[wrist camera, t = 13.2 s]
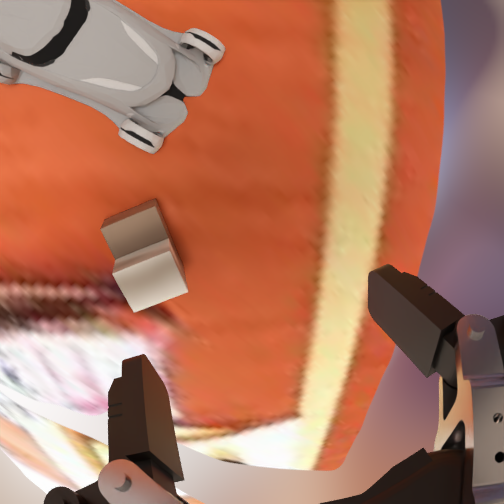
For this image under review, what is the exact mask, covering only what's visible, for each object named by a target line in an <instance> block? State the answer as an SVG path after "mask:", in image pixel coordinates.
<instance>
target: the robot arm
mask: <svg viewBox="0 0 504 504" xmlns="http://www.w3.org/2000/svg"><path fill="white" fill-rule="evenodd" d="M368 309H369V312H370V314H371V316H372V318H373V319H374V321H375V322H376V323H377V324H378V325H379V326H380V327H381V328H382V329H383V330H384V331H385V333H386V334H387V335H388V336H389V337H390V338H391V339H392V340H393V341H394V342H395V343H396V344H397V346H398V347H399V348H400V349H401V350H402V351H403V352H404V353H405V354H406V355H407V357H408V358H409V359H410V360H411V361H412V362H413V363H414V364H415V365H416V366H417V368H418V369H419V370H420V371H421V372H422V373H423V374H424V375H425V377H426V378H427V377H429V376H430V375H432V374H433V373H435V372H436V371H437V372H438V373H439V374H440V378H439V427H438V432H437V435H436V439H435V444H434V451H433V452H430V453H427V452H426V451H425V449H424V448H422V449H421V450H419V451H418V452H416V453H415V454H413V455H411V456H410V457H408V458H407V459H405V460H403V461H402V462H400V463H399V464H397V465H395V466H394V467H392V468H391V469H390V470H389V471H388V472H387V473H386V474H385V475H384V476H383V477H382V478H380V479H379V480H378V481H377V482H376V483H375V484H374V485H373V486H371V487H370V488H369V489H368V490H367V491H365V492H364V493H362V494H360V495H356V496H352V497H348V498H344V499H339V500H335V501H330V502H325V503H320V504H504V315H503V316H500V317H497V318H494V319H491V320H488V319H487V318H485V317H483V316H481V315H476V314H470V315H466V316H465V315H463V314H462V313H461V312H460V311H459V310H458V309H456V308H455V307H454V306H453V305H451V304H450V303H449V302H448V301H447V300H446V299H444V298H443V297H442V296H441V295H439V294H438V293H435V291H434V290H433V289H432V288H431V287H429V286H427V284H426V283H424V282H423V281H422V280H421V279H419V278H418V277H416V276H414V275H411V274H408V273H406V272H403V273H401V272H399V271H398V270H397V269H395V268H394V267H393V266H392V265H390V264H387V265H384V266H382V267H380V268H378V269H375V270H373V271H371V272H370V273H369V275H368ZM108 406H109V408H108V417H109V419H108V445H109V463H108V464H107V465H106V466H105V467H104V468H103V469H102V470H101V472H100V474H99V478H98V481H96V482H95V483H93V484H91V485H89V486H86V487H84V488H82V489H80V490H78V491H76V492H74V491H72V490H70V489H69V488H66V487H56V488H54V489H52V490H51V491H50V492H49V493H48V494H47V495H46V498H45V500H44V504H189V503H188V502H187V501H185V500H184V499H183V498H181V497H180V496H179V495H177V493H176V489H175V484H174V482H178V481H183V480H184V477H183V471H182V467H181V462H180V457H179V452H178V447H177V442H176V436H175V431H174V425H173V420H172V414H171V407H170V401H169V396H168V392H167V390H166V387H165V385H164V383H163V381H162V380H161V378H160V377H159V375H158V374H157V372H156V371H155V369H154V367H153V366H152V364H151V363H150V361H149V360H148V358H147V357H146V355H144V354H142V355H139V356H135V357H132V358H129V359H125V360H123V361H122V377H119V378H116V379H114V380H113V383H112V385H111V387H110V390H109V392H108Z"/></svg>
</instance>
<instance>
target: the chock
mask: <svg viewBox="0 0 504 504" xmlns="http://www.w3.org/2000/svg"><path fill="white" fill-rule="evenodd" d="M101 231H102V233H103V236H104V238H105V240H106V242H107V244H108V246H109V248H110V250H111V252H112V254H113V256H114V258H115V264H114V268H113V273H112V274H113V276H114V278H115V280H116V282H117V283H118V285H119V287H120V289H121V291H122V292H123V294H124V296H125V298H126V299H127V301H128V303H129V305H130V306H131V308H132V310H133V311H134V312H137V311H139V310H142V309H145V308H147V307H150V306H153V305H155V304H158V303H161V302H163V301H166V300H169V299H171V298H174V297H177V296H179V295H182V294H184V293H187V292H188V287H187V282H186V277H185V272H184V267H183V264H182V261H181V259H180V257H179V254H178V252H177V250H176V247H175V245H174V243H173V240H172V238H171V235H170V233H169V231H168V228H167V226H166V223H165V221H164V218H163V216H162V213H161V211H160V208H159V206H158V203H157V201H156V198H155V199H153V200H150V201H148V202H145V203H143V204H140V205H138V206H136V207H133V208H131V209H128V210H126V211H124V212H121V213H119V214H117V215H114V216H112V217H110V218H107V219H105V220H104V222H103V224H102V227H101Z"/></svg>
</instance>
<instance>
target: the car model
mask: <svg viewBox="0 0 504 504" xmlns="http://www.w3.org/2000/svg"><path fill="white" fill-rule="evenodd" d="M62 27H63V28H62ZM60 30H61V31H60ZM224 51H225V47H224V45H223V44H222V43H221V42H220V41H219V40H218V39H216V38H215V37H213V36H212V35H210V34H208V33H207V32H205V31H202V30H199V29H197V28H191V29H189V30H187V31H186V32H185V33H178V32H173V31H170V30H167V29H164V28H162V27H160V26H158V25H156V24H154V23H152V22H150V21H148V20H147V19H145V18H143V17H142V16H140V15H139V14H137V13H135V12H134V11H132V10H131V9H129V8H127V7H126V6H124V5H122V4H121V3H119V2H117V1H116V0H0V82H1V83H4V84H9V85H10V84H16V83H24V84H29V85H33V86H38V87H42V88H44V89H47V90H50V91H53V92H55V93H58V94H61V95H63V96H66V97H69V98H71V99H74V100H76V101H79V102H81V103H83V104H86V105H88V106H91V107H92V108H94V109H96V110H98V111H99V112H101V113H103V114H105V115H106V116H107V117H108V118H109V119H111V120H112V121H113V122H114V123H115V124H116V125H117V126H118V128H119V134H118V135H119V136H120V137H122V138H123V139H125V140H126V141H128V142H129V143H131V144H133V145H135V146H136V147H138V148H140V149H142V150H144V151H146V152H149V153H152V154H154V153H155V152H156V151H158V150H159V148H161V146H162V144H163V140H164V138H165V137H166V136H167V135H168V134H169V133H171V132H172V131H173V130H174V129H175V128H177V127H178V126H179V125H180V124H182V123H183V122H184V120H185V118H186V116H187V114H188V111H187V109H186V106H185V104H184V102H183V98H184V97H185V96H200V95H201V94H202V93H203V92H204V90H205V89H206V88H207V84H208V81H209V78H210V75H211V72H212V68H213V65H214V64H215V63H217V62H218V61H220V60H221V59H222V56H223V54H224ZM29 62H30V63H29ZM206 64H207V65H206ZM158 132H160V133H158Z"/></svg>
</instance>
